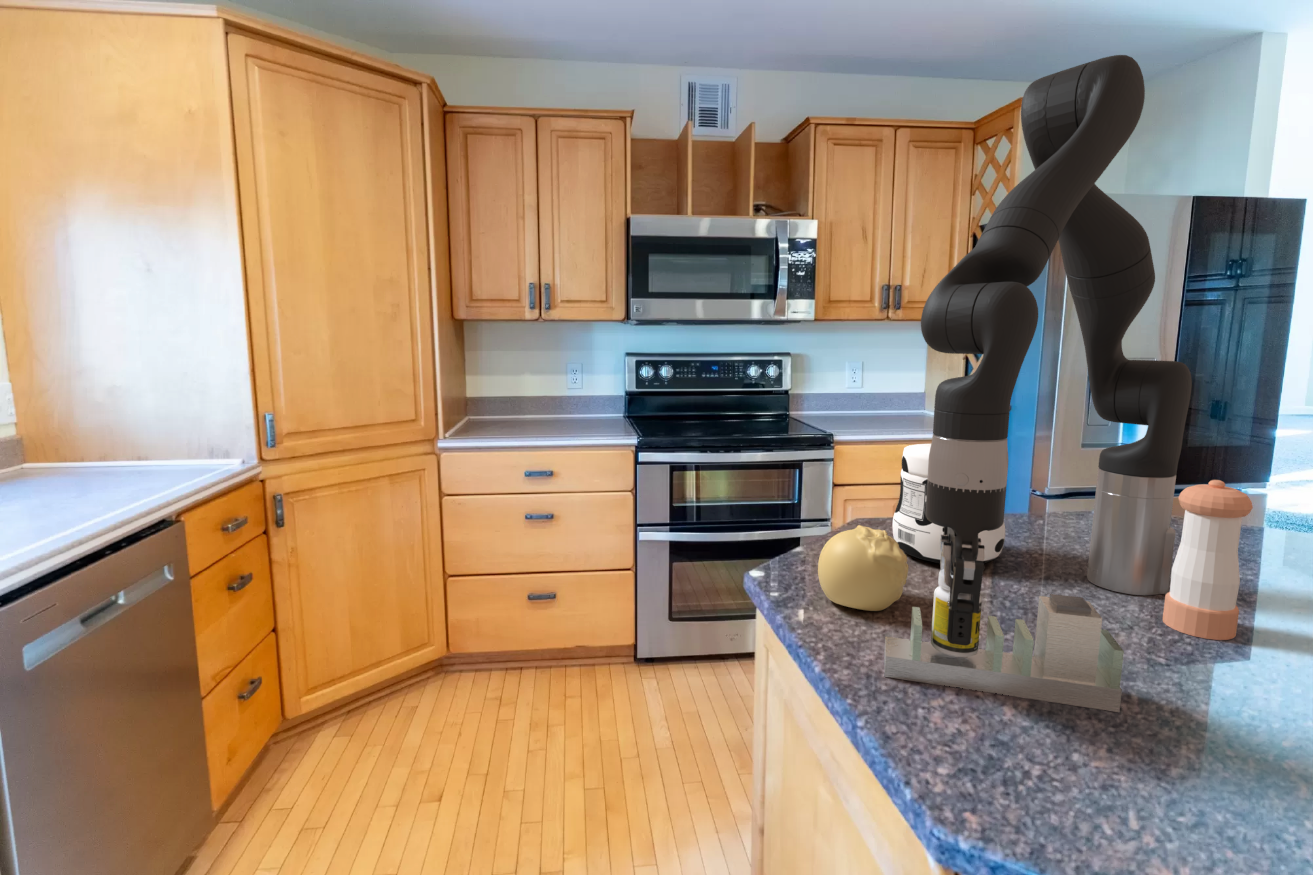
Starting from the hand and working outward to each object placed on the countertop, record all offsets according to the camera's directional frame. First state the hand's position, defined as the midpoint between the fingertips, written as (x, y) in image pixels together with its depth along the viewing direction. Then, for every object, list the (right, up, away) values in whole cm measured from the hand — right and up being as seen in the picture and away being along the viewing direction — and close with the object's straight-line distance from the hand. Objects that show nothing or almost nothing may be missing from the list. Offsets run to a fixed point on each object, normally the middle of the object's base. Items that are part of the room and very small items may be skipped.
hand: (955, 631), depth 72 cm
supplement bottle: (0, -2, 0) cm, 2 cm away
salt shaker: (+37, -3, +13) cm, 39 cm away
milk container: (+16, +1, +40) cm, 43 cm away
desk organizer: (+4, -5, -1) cm, 6 cm away
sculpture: (-4, -2, +21) cm, 21 cm away
